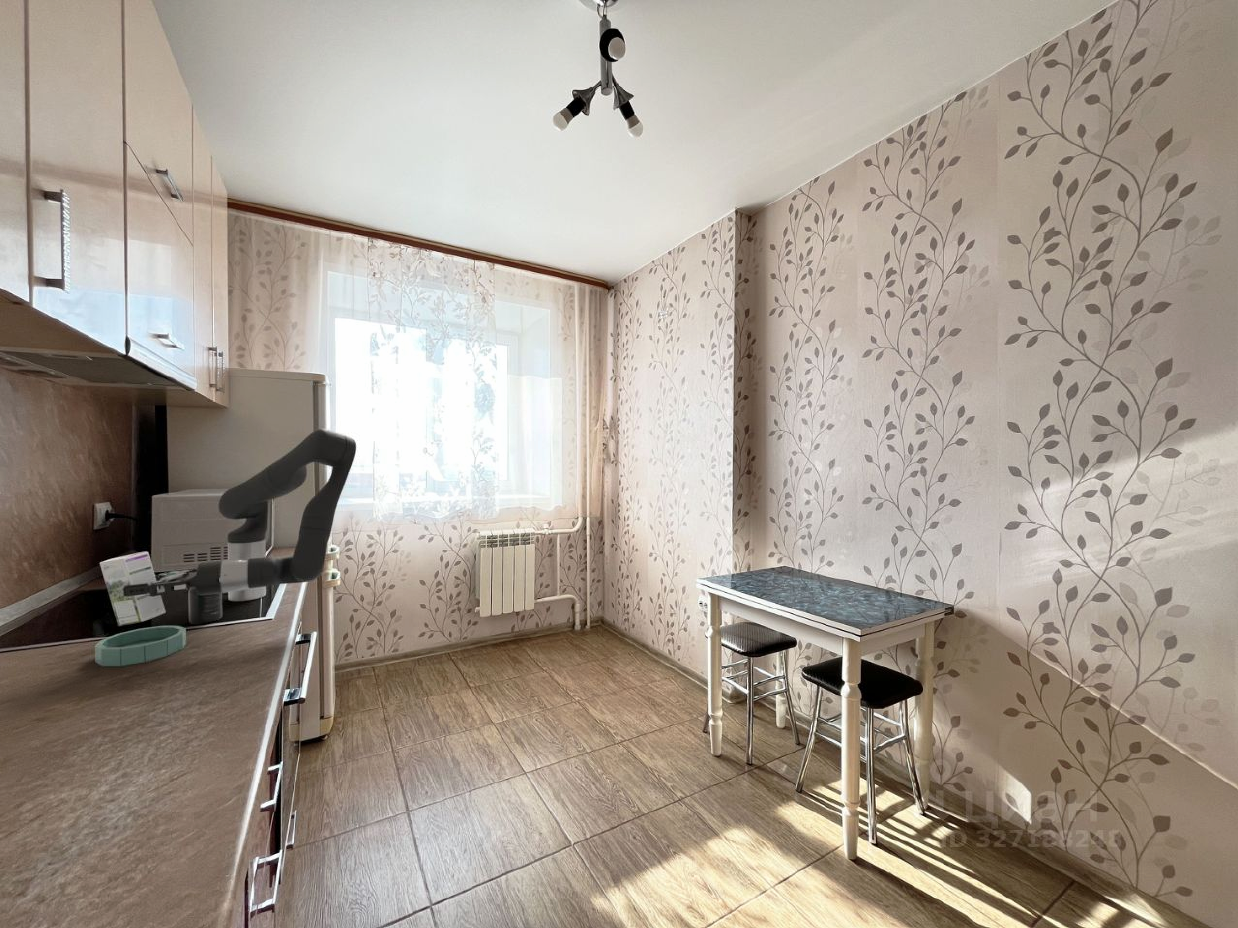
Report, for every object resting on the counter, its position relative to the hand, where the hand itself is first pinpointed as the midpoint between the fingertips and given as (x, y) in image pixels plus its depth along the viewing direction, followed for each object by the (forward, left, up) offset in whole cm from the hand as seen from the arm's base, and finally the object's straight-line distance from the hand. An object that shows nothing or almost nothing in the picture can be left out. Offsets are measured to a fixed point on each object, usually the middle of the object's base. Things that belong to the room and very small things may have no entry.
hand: (130, 586), depth 109 cm
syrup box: (0, +2, -8) cm, 8 cm away
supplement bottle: (-20, +10, -15) cm, 27 cm away
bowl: (0, +2, -15) cm, 15 cm away
